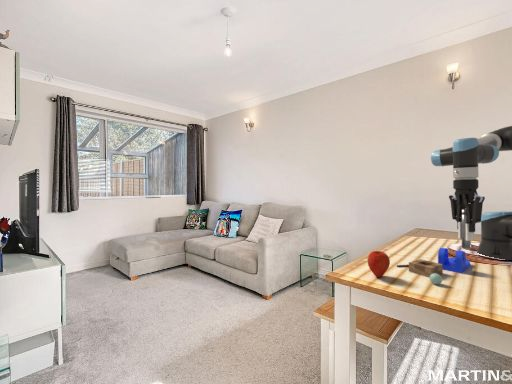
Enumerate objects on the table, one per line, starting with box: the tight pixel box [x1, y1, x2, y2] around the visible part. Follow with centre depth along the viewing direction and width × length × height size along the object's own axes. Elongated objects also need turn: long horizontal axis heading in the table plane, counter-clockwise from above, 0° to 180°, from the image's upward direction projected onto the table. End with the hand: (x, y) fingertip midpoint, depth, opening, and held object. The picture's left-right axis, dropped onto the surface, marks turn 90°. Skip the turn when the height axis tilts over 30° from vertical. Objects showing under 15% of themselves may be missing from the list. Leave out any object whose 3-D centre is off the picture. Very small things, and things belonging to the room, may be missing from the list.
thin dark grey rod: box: [396, 264, 409, 268], centre depth 118 cm, size 14×1×1 cm, turn 94°
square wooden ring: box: [408, 258, 444, 278], centre depth 109 cm, size 9×9×4 cm
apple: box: [367, 250, 391, 278], centre depth 106 cm, size 9×8×11 cm
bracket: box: [437, 247, 471, 274], centre depth 116 cm, size 18×8×9 cm, turn 128°
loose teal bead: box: [429, 273, 443, 285], centre depth 97 cm, size 4×4×4 cm
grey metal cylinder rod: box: [461, 209, 472, 249], centre depth 98 cm, size 3×3×15 cm
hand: (466, 239), depth 98 cm, fingers closed on grey metal cylinder rod, 2 cm apart
